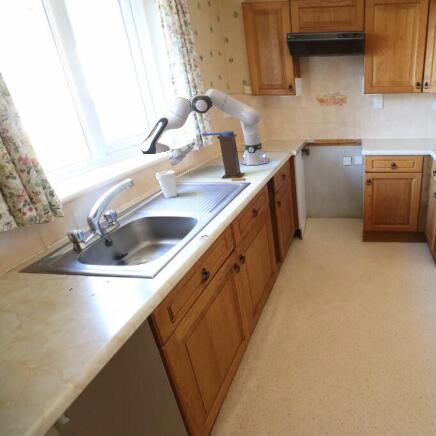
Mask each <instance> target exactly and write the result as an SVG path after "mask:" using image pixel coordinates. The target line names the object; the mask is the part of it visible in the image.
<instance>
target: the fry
mask: <svg viewBox="0 0 436 436" xmlns="http://www.w3.org/2000/svg"><path fill="white" fill-rule="evenodd" d="M231 181H233V182H235V181H246V177H241V178H231Z"/></svg>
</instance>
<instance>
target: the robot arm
mask: <svg viewBox="0 0 436 436" xmlns="http://www.w3.org/2000/svg"><path fill="white" fill-rule="evenodd" d="M193 95H194V96H192V95H191V96H192V97H191V96H190V97H191V98H190V99H189V100H188V99H187V98H186V97H183V96H178V97H177V98H175V99H174V101H173V103H172V104H171V106H170V108H169V110H168V112H167V113H166V114H165V115H164V116H163V117H161V118H160V119H159V120H158V121H157V122H156V123H155V125H154V126H153V128H152V130H151V131H150V133H149V135H147V137H146V138H145V139H144V140H143V141H142V143H141V145H140V150H141V153H142V154H143V155H144V154H156V153H161V152H166V151H169V150H170V151H169V152H167V154H169V158H168V159H169V162H170V164H171V165H172V166H173V167H174V166H177V165H178V164H179V163H181V162H182V161H184V159H185V158H186V157H187V155H188V154H189V153H190V152H191V151H193V149H194V146H196V142H195V141H193V142H191V143H188V144H185V145H183V146H181V147H179V148H171V147H170V146H169V145H167V144H164V143H161V142H159V140H160V139H161V138H162V136H163V135H164V133H165V132H167V131H169V130H179V129H181V128H183V127H184V126H185V124H186V123H187V120H188V118H189V116H190V114H191V113H192V112H195V113H197V114H201V115H202V114H206V113H208V112H209V111H210V109H211V108H212V107H214V108H216V109H218V110H220V111H221V112H224V113H225V114H227V115H229V116H230V117H233V118H235V119H237V120H239V123H240V127H241V129H242V130H241V131H242V133H243V140H244V152H243V161H242V165H246V166H260V165H264V164H269V156H266V152H265V150H264V149H263V145H262V144H263V143H262V142H261V136H260V131H259V129H258V125H257V124H258V123H260V120H261V114H260V113H259V111H258V110H257V109H255V108H254V107H252V106H250V105H248V104H246V103H244V102H242V101H240V100H238V99H236V98H235V97H233V96H231V95H229V94H227V93H225V92H223V91H221V90H219V89H216V88H214V87H212V88H209V89H207V90H206V92H205V94H199V95H195V94H193Z"/></svg>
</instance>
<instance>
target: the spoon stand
mask: <svg viewBox="0 0 436 436" xmlns="http://www.w3.org/2000/svg"><path fill="white" fill-rule="evenodd" d="M237 136H238V135H237V133H234V135H233V136H222V135H216V140H217V139H219V145H220V152H221V157H222V163H223V168H224V174H223V175H222V176H221V177H222V179H232V178H243V176H244V175H245V172H241V166H240V159H239V153H238V146H237V140H236V137H237Z"/></svg>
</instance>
